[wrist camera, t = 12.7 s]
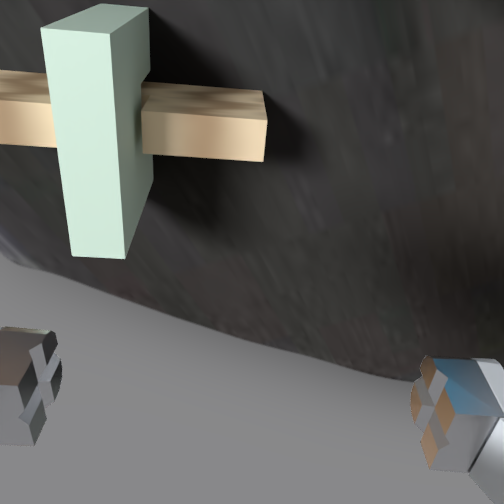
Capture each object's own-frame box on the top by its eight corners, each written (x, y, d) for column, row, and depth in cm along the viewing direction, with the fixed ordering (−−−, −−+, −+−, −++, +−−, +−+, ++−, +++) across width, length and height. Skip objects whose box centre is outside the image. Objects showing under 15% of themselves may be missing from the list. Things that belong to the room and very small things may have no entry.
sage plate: (148, 7, 36) (109, 33, 25) (153, 180, 43) (125, 258, 32) (100, 3, 36) (40, 27, 25) (114, 177, 43) (72, 255, 32)
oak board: (262, 90, 39) (267, 120, 32) (258, 126, 41) (263, 161, 34) (-15, 68, 38) (-70, 94, 31) (-7, 106, 39) (-58, 139, 33)
